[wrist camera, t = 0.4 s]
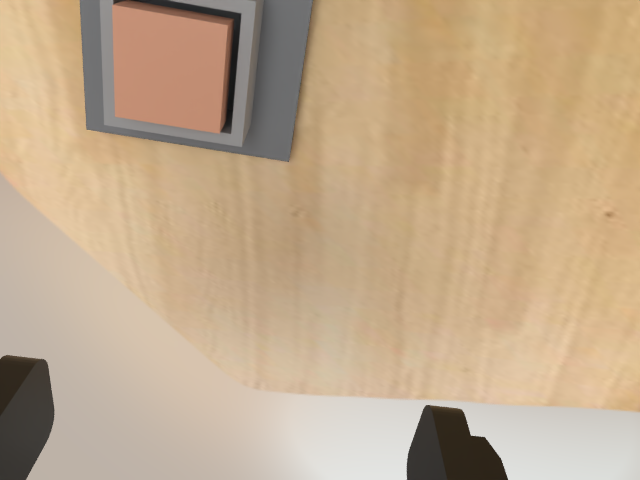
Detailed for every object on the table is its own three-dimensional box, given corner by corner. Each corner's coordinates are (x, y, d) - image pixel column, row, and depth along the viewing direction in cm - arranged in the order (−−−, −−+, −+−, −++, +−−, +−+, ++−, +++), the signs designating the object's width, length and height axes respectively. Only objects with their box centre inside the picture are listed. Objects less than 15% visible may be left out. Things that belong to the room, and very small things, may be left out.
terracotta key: (127, -1, 25) (112, 4, 23) (234, 18, 25) (227, 25, 23) (128, 105, 27) (114, 116, 26) (226, 121, 28) (219, 133, 26)
